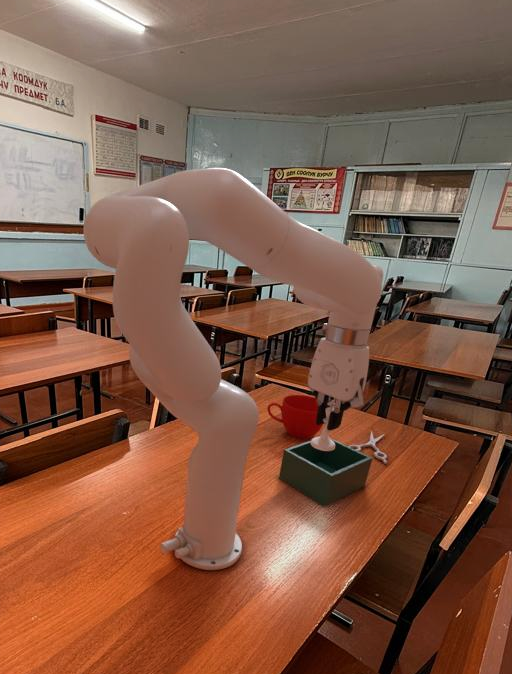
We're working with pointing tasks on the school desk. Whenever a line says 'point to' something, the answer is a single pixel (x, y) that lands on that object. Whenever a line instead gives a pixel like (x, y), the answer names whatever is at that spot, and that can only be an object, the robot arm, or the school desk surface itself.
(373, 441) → the scissors
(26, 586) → the school desk surface
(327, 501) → the bin
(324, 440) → the chess piece
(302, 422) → the ceramic cup
